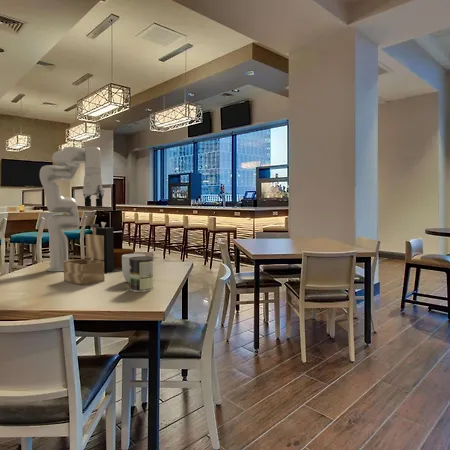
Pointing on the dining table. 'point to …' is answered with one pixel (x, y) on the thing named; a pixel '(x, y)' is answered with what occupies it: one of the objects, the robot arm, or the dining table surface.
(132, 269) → the coffee can
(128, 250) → the brown block
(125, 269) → the mug
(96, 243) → the flap
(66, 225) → the robot arm
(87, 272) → the carton
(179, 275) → the dining table surface
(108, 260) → the tissue box
